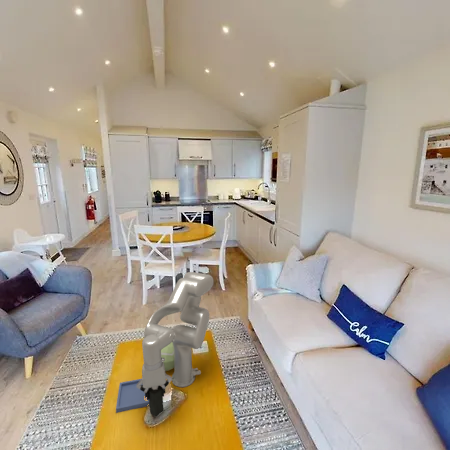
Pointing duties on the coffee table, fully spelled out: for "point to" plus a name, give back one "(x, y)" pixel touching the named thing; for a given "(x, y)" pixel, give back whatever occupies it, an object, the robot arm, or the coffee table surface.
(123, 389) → the slate blue tray
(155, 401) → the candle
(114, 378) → the coffee table surface
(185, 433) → the coffee table surface
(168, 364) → the decorative sphere
